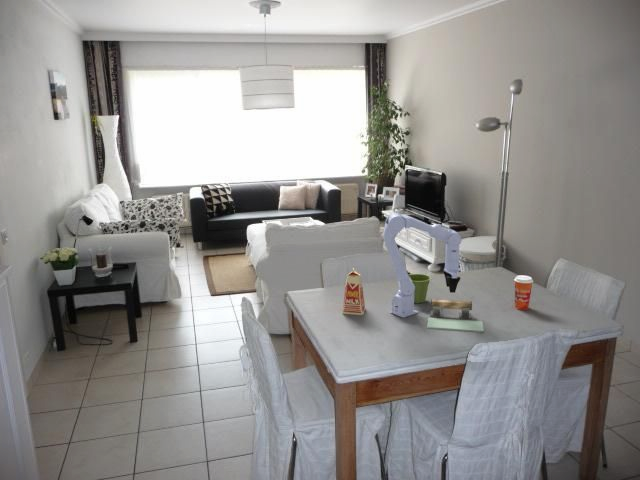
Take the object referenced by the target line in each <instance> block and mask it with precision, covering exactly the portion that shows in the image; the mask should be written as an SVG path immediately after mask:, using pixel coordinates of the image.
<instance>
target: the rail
mask: <svg viewBox="0 0 640 480" xmlns="http://www.w3.org/2000/svg"><path fill="white" fill-rule="evenodd" d="M433 305H438V306H440V309H450V310H461V311H462V307H470V310H469V311H472V310H473V301H469V300H468V301H467V300H466V301H465V300H453V299H452V300H451V299H450V300H448V299H433V298H431V299H430V308H431V309H433Z"/></svg>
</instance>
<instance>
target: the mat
mask: <svg viewBox="0 0 640 480" xmlns="http://www.w3.org/2000/svg"><path fill="white" fill-rule="evenodd" d="M426 328H427V329H432V330H449V331H460V332H463V331H464V332H475V333H476V332H477V333H484V332H485V331H484V323H483V321H482V320H472V319H456V318H455V319H454V318H442V317H427V325H426Z"/></svg>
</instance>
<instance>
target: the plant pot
mask: <svg viewBox="0 0 640 480" xmlns="http://www.w3.org/2000/svg"><path fill="white" fill-rule="evenodd" d="M408 276H409V277H410V278H411V280H412V283H413V284H414V286H415V290H414V304H416V303H417V304H419V303H425V302H426V299H427V296H428V295H427V293H428V289H429V284H430V282H431V281H430V280H432V277H431V275H428V274H423V273H410V274H408Z"/></svg>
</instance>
